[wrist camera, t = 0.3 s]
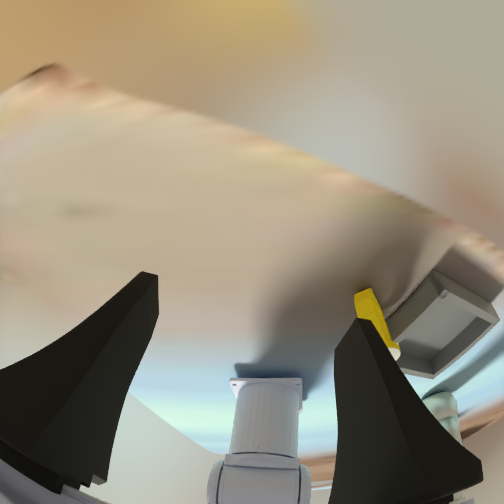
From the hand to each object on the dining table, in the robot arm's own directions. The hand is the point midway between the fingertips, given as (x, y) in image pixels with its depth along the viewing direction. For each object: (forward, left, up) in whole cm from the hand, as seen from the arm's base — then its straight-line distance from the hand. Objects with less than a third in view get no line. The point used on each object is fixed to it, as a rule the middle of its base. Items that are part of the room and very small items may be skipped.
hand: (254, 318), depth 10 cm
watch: (-10, -8, -11) cm, 17 cm away
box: (-15, -15, -11) cm, 23 cm away
